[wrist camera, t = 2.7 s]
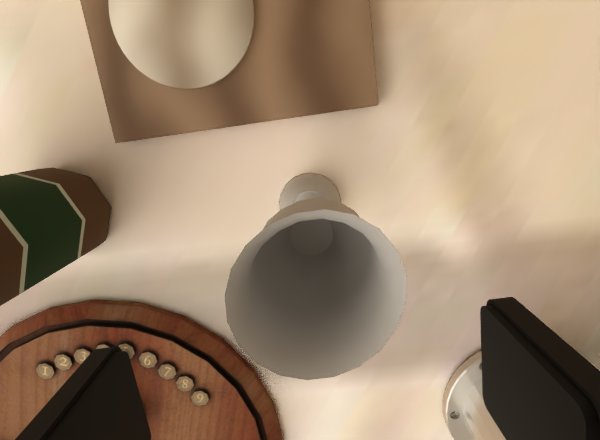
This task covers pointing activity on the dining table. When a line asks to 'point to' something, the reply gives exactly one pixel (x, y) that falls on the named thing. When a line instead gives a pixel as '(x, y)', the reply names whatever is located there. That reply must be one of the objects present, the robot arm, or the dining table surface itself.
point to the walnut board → (228, 61)
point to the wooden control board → (137, 370)
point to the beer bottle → (46, 225)
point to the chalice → (315, 286)
